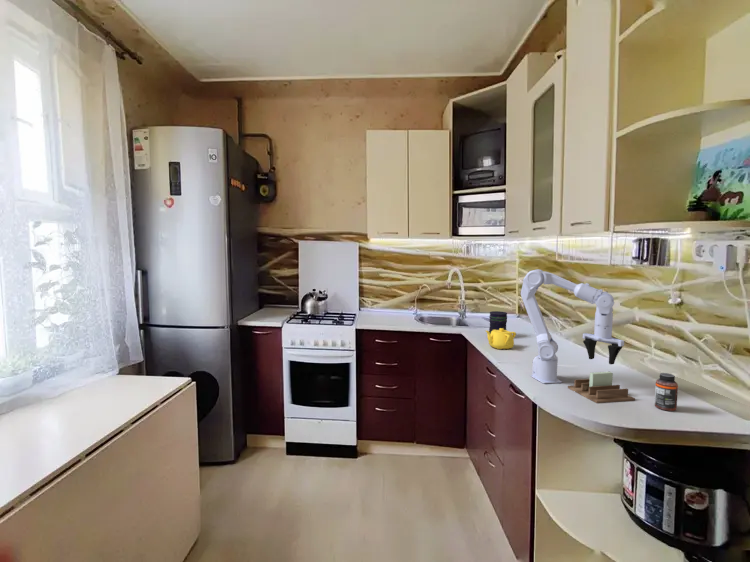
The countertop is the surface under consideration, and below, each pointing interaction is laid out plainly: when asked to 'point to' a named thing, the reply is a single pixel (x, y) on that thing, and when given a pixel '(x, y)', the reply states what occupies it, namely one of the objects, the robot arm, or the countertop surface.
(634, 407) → the countertop surface
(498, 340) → the teapot
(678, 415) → the countertop surface
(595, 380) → the pale green flat block
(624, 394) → the dish rack
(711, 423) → the countertop surface
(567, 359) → the countertop surface
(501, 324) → the storage jar
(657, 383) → the supplement bottle
